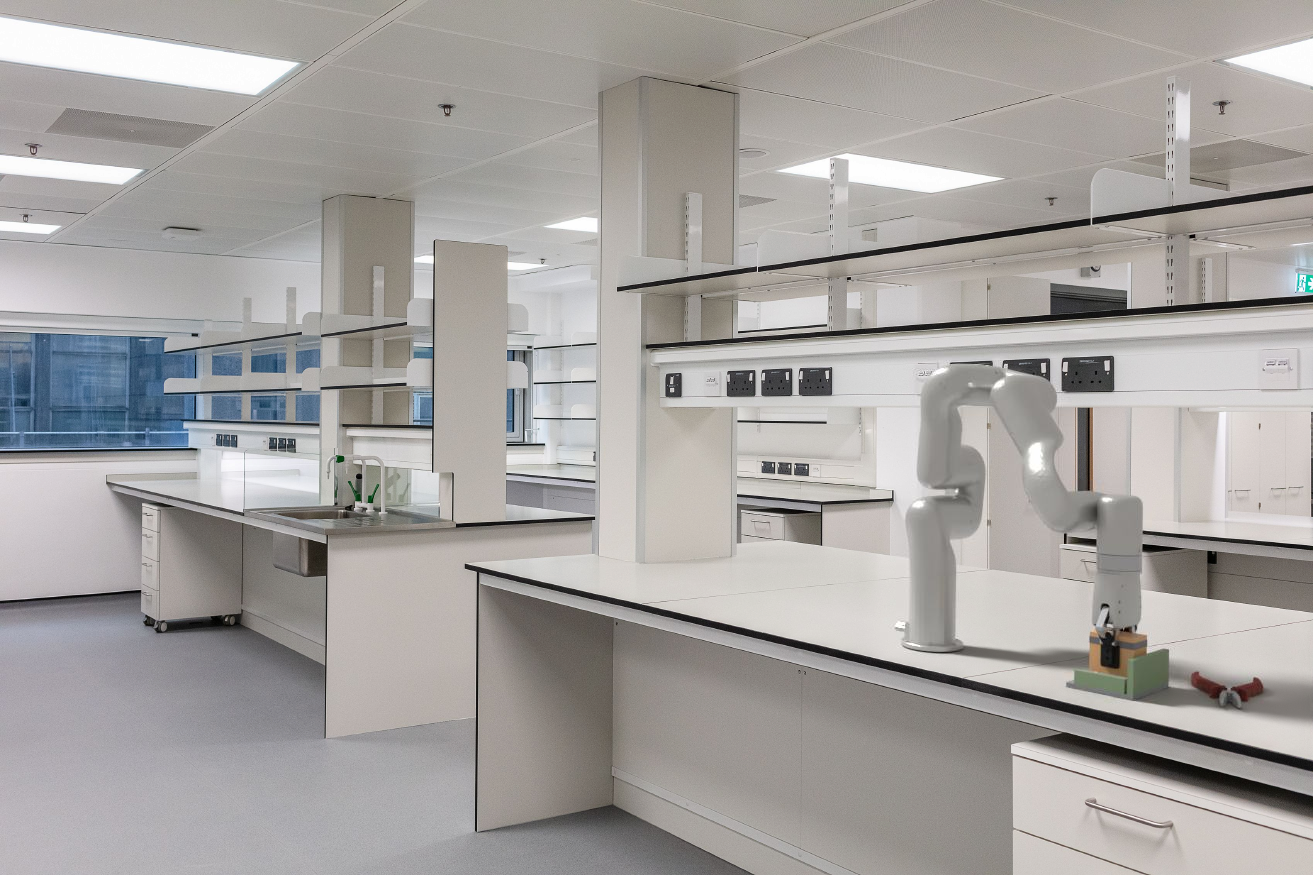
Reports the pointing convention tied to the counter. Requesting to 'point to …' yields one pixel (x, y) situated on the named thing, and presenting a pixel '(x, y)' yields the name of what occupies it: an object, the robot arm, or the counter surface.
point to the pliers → (1226, 695)
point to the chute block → (1129, 649)
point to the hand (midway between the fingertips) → (1117, 663)
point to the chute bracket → (1128, 677)
